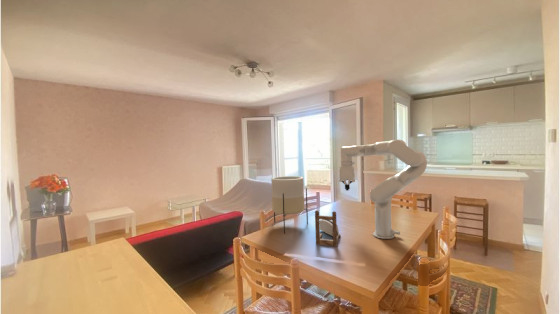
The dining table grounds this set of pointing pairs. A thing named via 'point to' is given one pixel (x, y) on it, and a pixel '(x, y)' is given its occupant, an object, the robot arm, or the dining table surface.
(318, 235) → the brown wooden frame
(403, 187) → the robot arm
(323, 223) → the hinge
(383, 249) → the dining table surface
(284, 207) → the planter
